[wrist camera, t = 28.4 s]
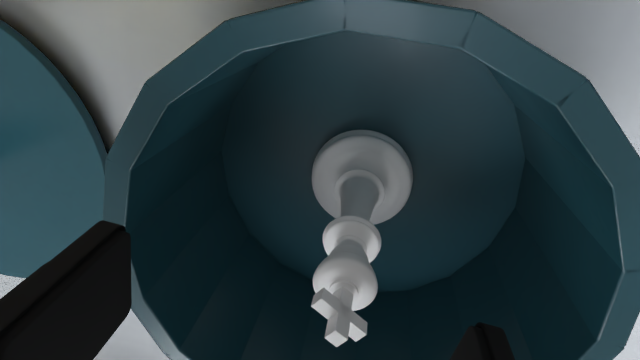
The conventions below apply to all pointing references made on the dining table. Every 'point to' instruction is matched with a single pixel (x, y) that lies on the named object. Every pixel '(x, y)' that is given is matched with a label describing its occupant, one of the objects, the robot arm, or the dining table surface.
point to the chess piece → (355, 222)
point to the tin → (410, 222)
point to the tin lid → (43, 159)
